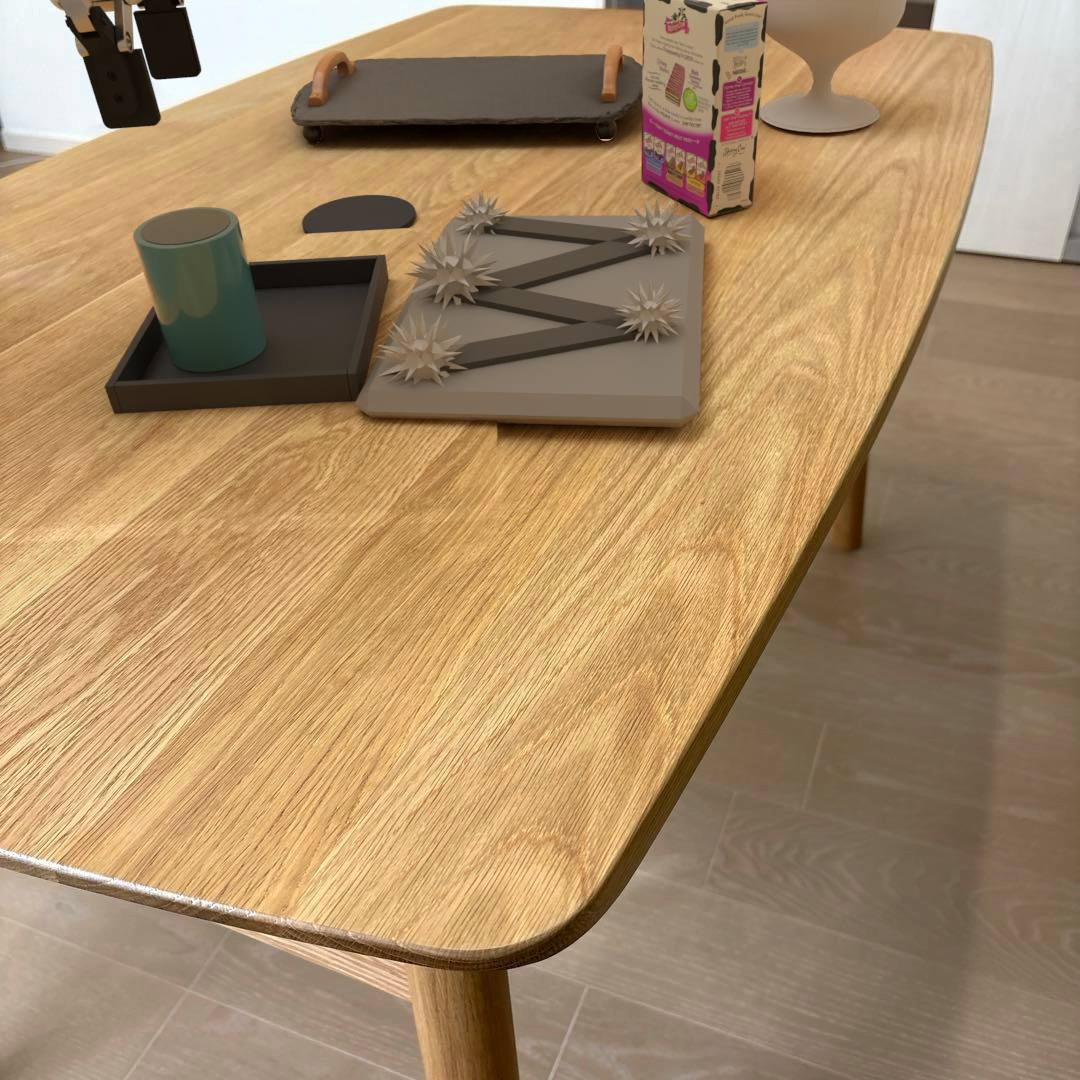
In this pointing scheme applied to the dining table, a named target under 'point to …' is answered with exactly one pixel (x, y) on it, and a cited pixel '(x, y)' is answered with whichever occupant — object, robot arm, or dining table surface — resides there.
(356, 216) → the coaster
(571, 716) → the dining table surface
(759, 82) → the candy bar box
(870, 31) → the chalice
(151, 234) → the cup
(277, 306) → the tray
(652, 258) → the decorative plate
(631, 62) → the serving tray
